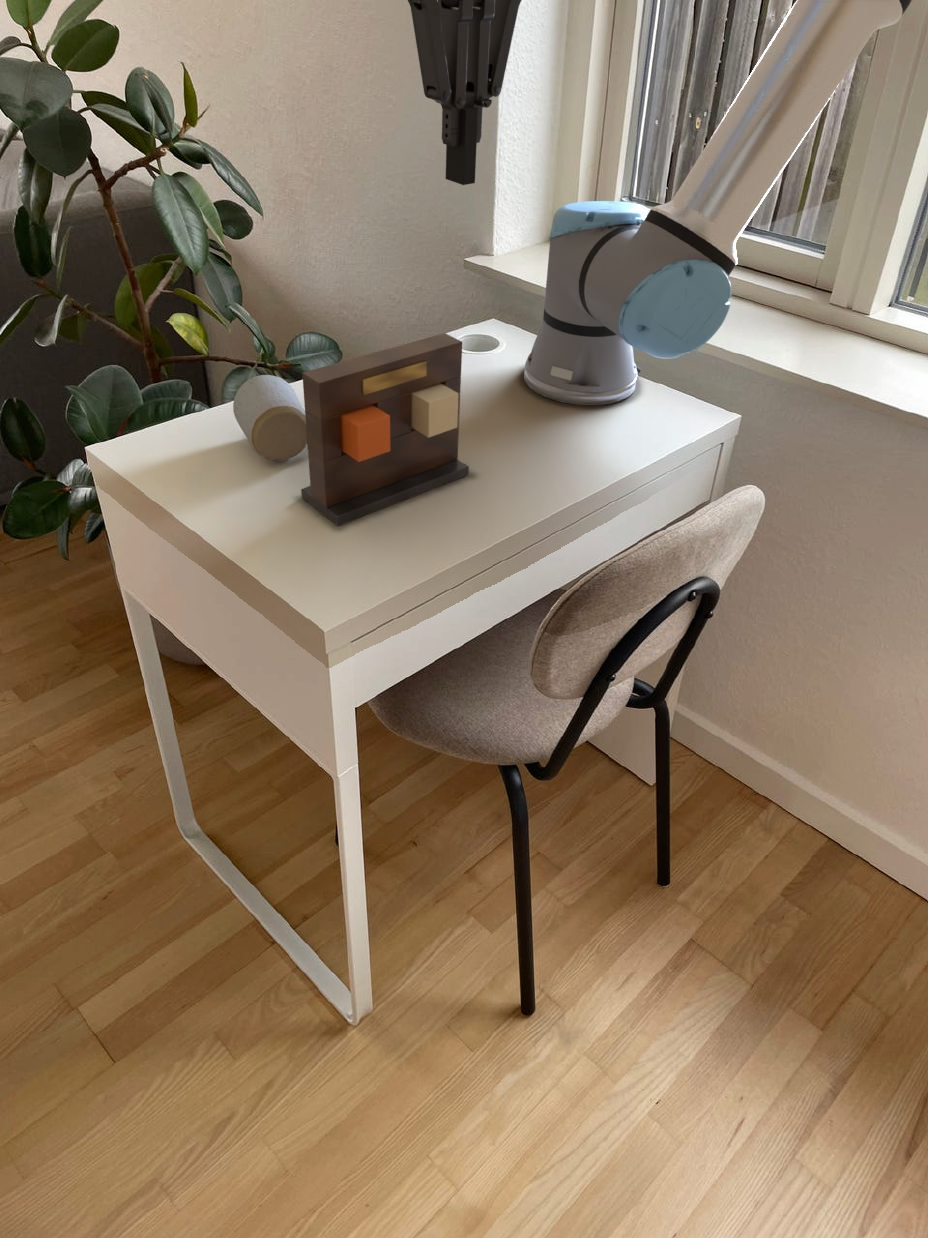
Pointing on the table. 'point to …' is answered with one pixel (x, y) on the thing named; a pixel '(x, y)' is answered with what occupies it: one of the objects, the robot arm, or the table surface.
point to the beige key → (434, 409)
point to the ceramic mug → (271, 417)
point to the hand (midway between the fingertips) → (460, 180)
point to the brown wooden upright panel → (413, 456)
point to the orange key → (365, 432)
